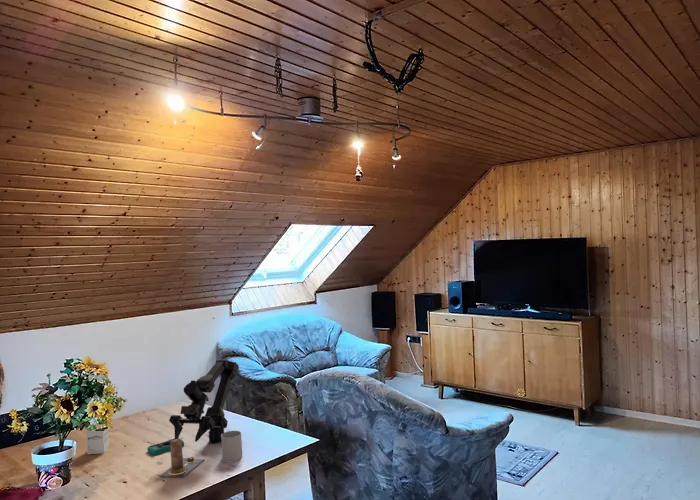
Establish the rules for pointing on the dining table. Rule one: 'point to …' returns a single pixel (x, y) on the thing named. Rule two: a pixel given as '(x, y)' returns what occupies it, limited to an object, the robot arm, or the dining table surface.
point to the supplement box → (97, 441)
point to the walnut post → (176, 457)
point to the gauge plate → (189, 466)
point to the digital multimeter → (161, 447)
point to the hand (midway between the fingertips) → (185, 440)
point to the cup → (231, 446)
